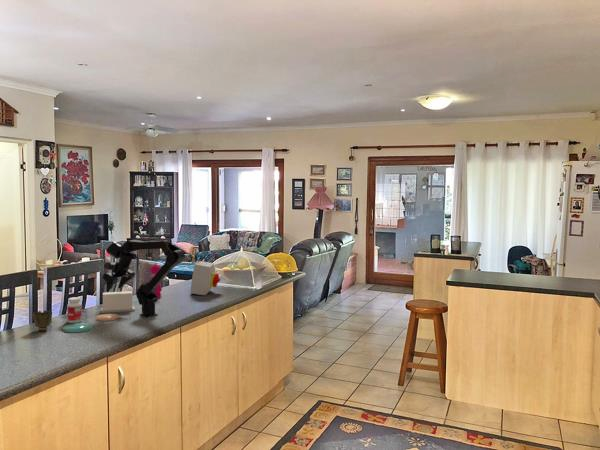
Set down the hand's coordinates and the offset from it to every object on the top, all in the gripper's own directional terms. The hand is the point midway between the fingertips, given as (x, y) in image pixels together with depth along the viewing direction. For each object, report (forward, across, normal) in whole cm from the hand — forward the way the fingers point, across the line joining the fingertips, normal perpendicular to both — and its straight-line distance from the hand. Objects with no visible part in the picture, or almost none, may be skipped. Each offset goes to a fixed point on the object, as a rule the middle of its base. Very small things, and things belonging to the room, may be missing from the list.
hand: (113, 289), depth 246 cm
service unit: (+10, -3, +5) cm, 12 cm away
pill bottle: (+12, +22, +1) cm, 25 cm away
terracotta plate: (+8, +11, +10) cm, 17 cm away
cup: (+14, +38, -2) cm, 40 cm away
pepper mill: (+10, -38, +5) cm, 39 cm away
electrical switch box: (+1, -57, +25) cm, 62 cm away
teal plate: (+8, +30, +9) cm, 33 cm away
